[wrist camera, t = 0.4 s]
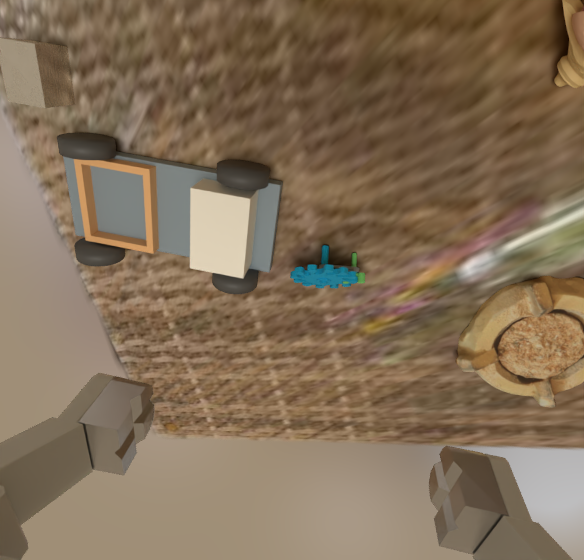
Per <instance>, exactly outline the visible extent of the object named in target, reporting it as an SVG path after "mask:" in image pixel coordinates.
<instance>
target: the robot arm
mask: <svg viewBox="0 0 584 560" xmlns="http://www.w3.org/2000/svg"><path fill="white" fill-rule="evenodd" d="M152 395H153V387H152V385H150V384H146V383H142V382H137V381H133V380H129V379H125V378H121V377H116V376H111V375H107V374H102V373H98V374H96V375H95V376H93V377H92V378H91V380H90V381H89V382H88V383H87V384H86V385H85V387H84V388H83V389H82V390H81V391H80V393H79V394H78V395H77V396H76V397H75V399H74V400H73V401H72V402H71V403H70V404H69V405H68V407H67V408H66V409H65V410H64V412H62V414H61V415H60V416H59V417H58V418H53V417H52V418H50V419H48V420H46V421H44V422H42V423H40V424H38V425H36V426H34V427H32V428H30V429H28V430H26V431H24V432H22V433H19V434H18V435H15V436H13V437H11V438H10V439H7V440H5V441H4V442H1V443H0V560H21V558H22V557H23V555H24V554H25V552H26V551H27V549H28V542H27V539H26V537H25V535H24V533H23V530H22V528H21V526H20V525H21V524H23V523H24V522H26V521H27V520H28V519H30V518H31V517H32V516H34V515H35V514H36V513H38V512H39V511H40V510H42V509H43V508H44V507H46V506H47V505H48V504H50V503H51V502H52V501H54V500H55V499H56V498H58V497H59V496H60V495H62V494H63V493H64V492H66V491H67V490H68V489H70V488H71V487H72V486H74V485H75V484H76V483H78V482H79V481H81V480H82V479H83V478H84V477H86V476H87V475H89V474H90V473H91V472H92V471H93V470H92V469H94V470H98V471H104V472H109V473H114V474H119V475H124V474H125V473H126V471H127V469H128V467H129V466H130V464H131V462H132V460H133V458H134V457H135V455H136V444H137V443H139V442H140V441H142V440H144V439H145V437H146V435H147V433H148V432H149V430H150V427H151V424H152V421H153V418H154V404H153V403H152V402H151V401H150V399H151V397H152ZM440 458H441V462H438V463H436V464H434V466H433V468H432V470H431V473H430V479H429V491H430V492H429V493H430V499H431V502H432V503H433V505H434V506H435V507H436V509H437V510H438V513H437V514H436V516H435V518H434V521H435V526H436V532H437V537H438V542H439V546H441V547H445V548H449V549H453V550H457V551H461V552H465V553H469V554H473V558H474V559H475V560H573V559H572V558H571V557H570V556H569V555H568V554H567V553H566V552H565V551H564V550H563V549H562V548H561V547H560V546H559V544H557V542H556V541H555V540H554V539H553V538H552V537H551V536H550V535H549V534H548V533H547V532H546V531H545V530H544V528H543V527H542V526H541V525H540V524H539V523H536V522H532V519H531V517H530V515H529V512H528V510H527V507H526V505H525V502H524V500H523V497H522V495H521V492H520V490H519V487H518V485H517V483H516V480H515V477H514V475H513V473H512V470H511V468H510V465H509V463H508V461H507V460H506V459H505V458H503V457H498V456H493V455H488V454H483V453H480V452H475V451H470V450H465V449H460V448H455V447H450V446H446V447H444V448H443V449H442V451H441V453H440Z"/></svg>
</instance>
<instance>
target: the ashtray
mask: <svg viewBox="0 0 584 560" xmlns="http://www.w3.org/2000/svg"><path fill="white" fill-rule="evenodd" d="M457 352H458V357H457V359H456V363H457V365H458V366H459V367H460V369H461V370H463V371H464V372H476V373H477V374H478V375H479V376H480V377H481V378H483V379H484V380H485V381H486V382H487V383H489V384H490V385H492V386H493V387H495V388H497V389H499V390H501V391H504V392H507V393H511V394H517V395H523V396H533V397H534V398H535V399H536V400H537V402H538V403H539V404H540V405H541V406H545V407H551V408H552V407H556V402H555V400H554V395H556V394H557V393H559V392H560V391H564V390H568V389H571V388H573V387H575V386H577V385H579V384H581V383H582V382H584V279H581V278H577V277H573V278H566V279H558V278H554V277H552V276H541V277H539V278H537V279H533V280H529V281H525V282H520V283H515V284H512V285H509V286H506V287H504V288H502V289H501V290H499V291H498V292H496V293H495V294H494V295H493V296H491V297H490V298H489V299H488V300H487V301H486V302H485V303H484V304H483V305H482V306H481V307H480V308H479V310H478V311H477V313H476V314H475V316H474V317H473V319H472V320H471V322H470V324H469V326H468V327H467V328H466V329H465V330H464V331H463V332H462V334H461V336H460V338H459V343H458V349H457Z"/></svg>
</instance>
